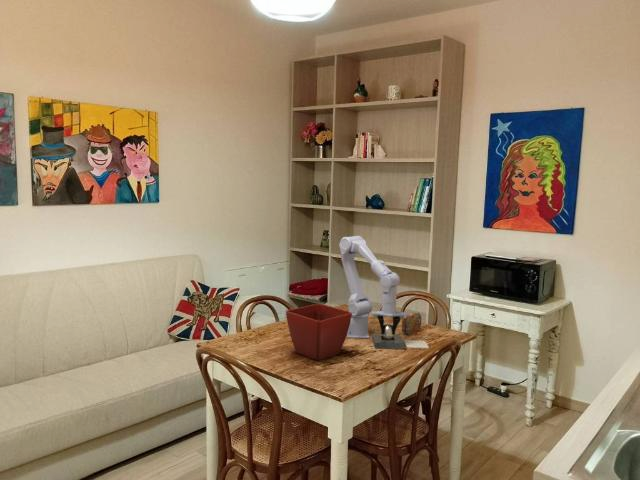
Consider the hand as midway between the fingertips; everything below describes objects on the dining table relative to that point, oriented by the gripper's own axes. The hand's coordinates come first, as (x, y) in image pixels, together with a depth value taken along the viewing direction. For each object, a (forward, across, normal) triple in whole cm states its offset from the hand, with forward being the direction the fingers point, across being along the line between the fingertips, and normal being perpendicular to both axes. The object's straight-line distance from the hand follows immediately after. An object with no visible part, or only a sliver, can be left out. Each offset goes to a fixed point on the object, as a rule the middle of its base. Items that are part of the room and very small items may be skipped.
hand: (387, 333), depth 216 cm
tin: (+5, +13, +18) cm, 23 cm away
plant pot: (+5, -29, -13) cm, 32 cm away
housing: (+4, 0, 0) cm, 4 cm away
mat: (+4, +12, 0) cm, 13 cm away
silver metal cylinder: (+4, 0, 0) cm, 4 cm away
